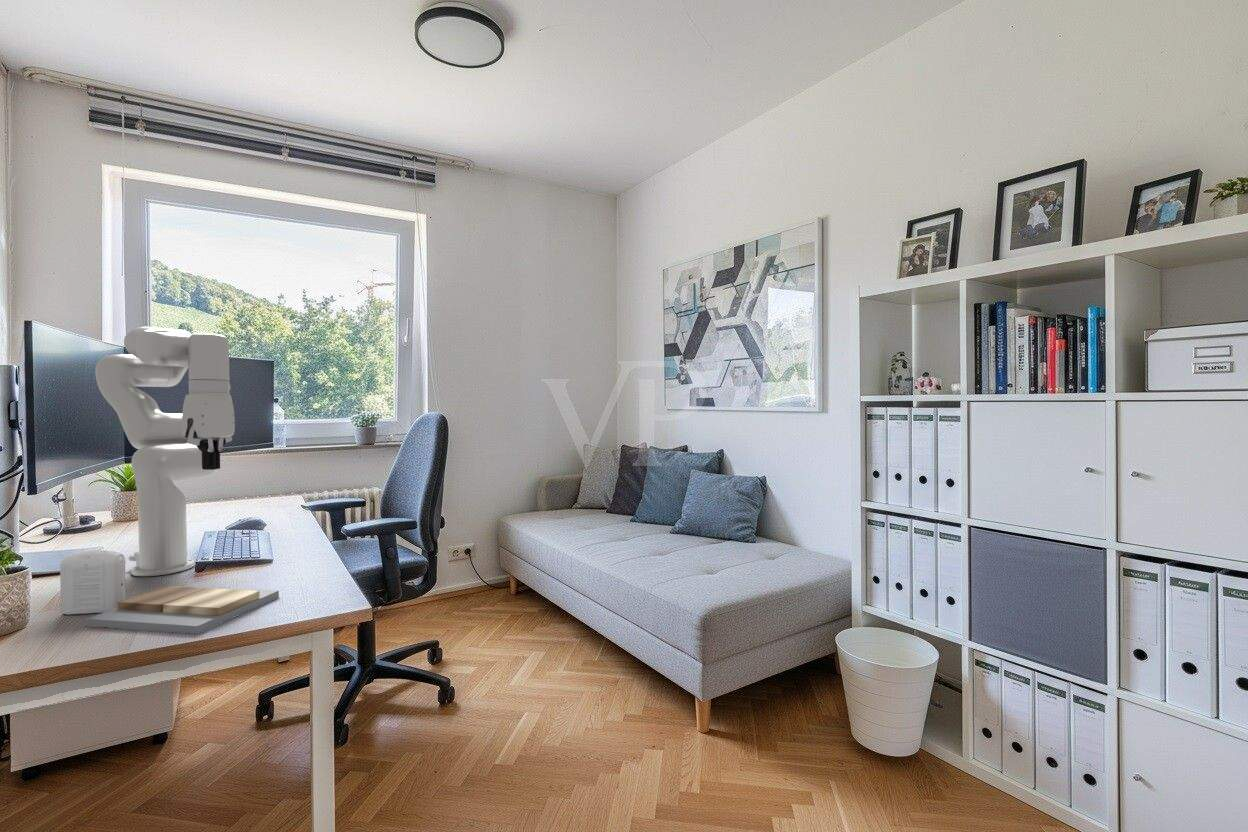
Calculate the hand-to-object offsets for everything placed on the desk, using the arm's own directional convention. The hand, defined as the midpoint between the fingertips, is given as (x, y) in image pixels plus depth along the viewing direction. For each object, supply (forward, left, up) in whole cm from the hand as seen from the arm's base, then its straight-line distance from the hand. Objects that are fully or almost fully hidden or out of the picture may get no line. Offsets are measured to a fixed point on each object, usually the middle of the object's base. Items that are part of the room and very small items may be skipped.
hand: (211, 469), depth 132 cm
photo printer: (-11, -17, -27) cm, 34 cm away
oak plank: (+14, -14, -26) cm, 32 cm away
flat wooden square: (+2, -14, -26) cm, 29 cm away
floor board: (+8, -14, -27) cm, 32 cm away
